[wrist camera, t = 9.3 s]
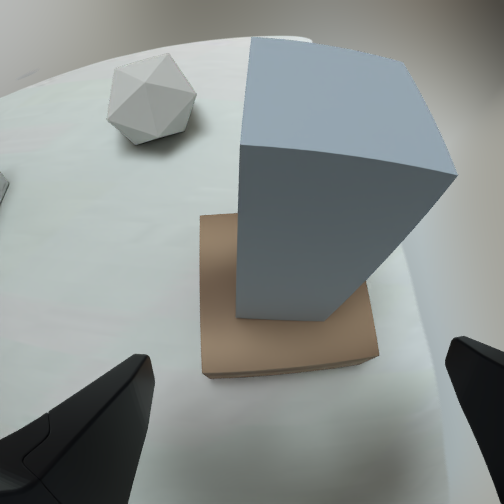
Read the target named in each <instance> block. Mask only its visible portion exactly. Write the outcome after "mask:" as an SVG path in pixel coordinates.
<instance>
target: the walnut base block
mask: <svg viewBox="0 0 504 504" xmlns="http://www.w3.org/2000/svg"><path fill="white" fill-rule="evenodd" d="M237 228H238V213H234V214H217V215H202V216H200V328H201V359H202V373H203V374H204V375H205V376H207V377H208V378H209V379H216V378H238V377H254V376H267V375H279V374H289V373H299V372H308V371H316V370H324V369H331V368H339V367H345V366H352V365H358V364H362V363H364V362H366V361H368V360H371V359H373V358H375V357H377V356H379V350H378V343H377V337H376V332H375V326H374V320H373V315H372V309H371V304H370V299H369V294H368V289H367V284H366V281H365V282H364V283H363V284H362V285H361V286H360V287H359V288H358V289H357V290H356V291H355V292H354V293H353V294H352V295H351V296H350V297H349V298H348V299H347V300H346V301H345V302H344V303H343V304H342V305H341V306H340V307H339V308H338V309H337V310H335V311H334V312H333V313H332V314H331V315H330V316H329V317H328V318H327V319H326V320H325V321H291V320H267V319H248V318H236V270H237Z"/></svg>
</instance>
